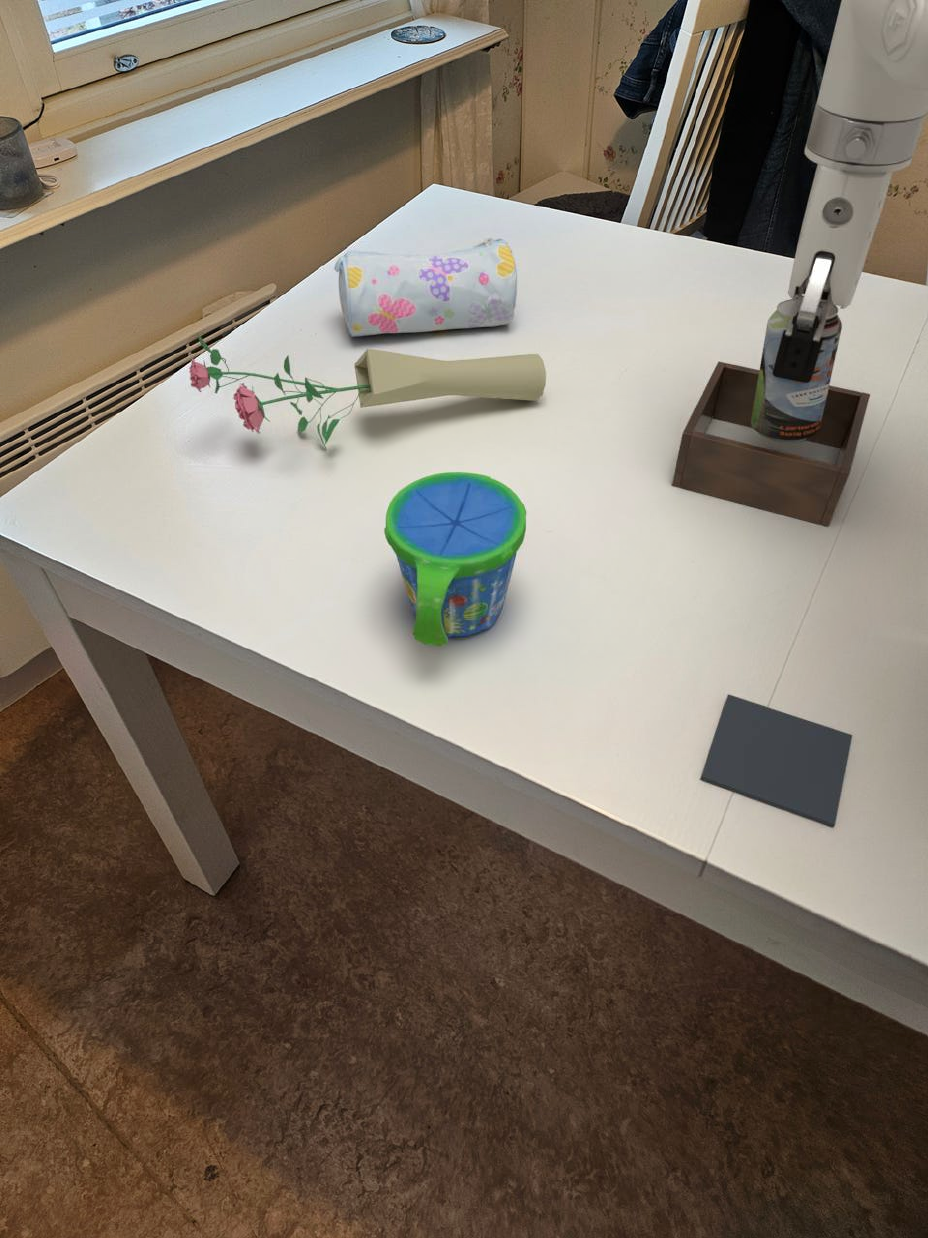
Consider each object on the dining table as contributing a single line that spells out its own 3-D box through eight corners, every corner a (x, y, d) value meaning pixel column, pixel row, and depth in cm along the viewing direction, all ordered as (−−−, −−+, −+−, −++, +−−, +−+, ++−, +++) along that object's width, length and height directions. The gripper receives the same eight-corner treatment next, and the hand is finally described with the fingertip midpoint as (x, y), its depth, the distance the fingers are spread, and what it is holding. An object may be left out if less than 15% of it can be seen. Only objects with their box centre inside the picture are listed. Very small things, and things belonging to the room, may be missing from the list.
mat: (850, 738, 63) (852, 734, 63) (833, 827, 58) (834, 824, 58) (727, 697, 66) (728, 693, 65) (700, 779, 61) (701, 776, 60)
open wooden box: (850, 445, 87) (870, 393, 83) (828, 526, 79) (849, 473, 74) (706, 412, 91) (718, 360, 87) (671, 485, 83) (682, 432, 79)
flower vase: (524, 474, 97) (200, 493, 82) (489, 390, 102) (179, 395, 87) (566, 400, 87) (208, 407, 73) (526, 312, 92) (183, 303, 78)
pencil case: (506, 301, 108) (508, 224, 102) (523, 335, 103) (526, 256, 96) (339, 318, 106) (329, 240, 99) (346, 354, 100) (337, 274, 93)
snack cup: (484, 695, 66) (486, 601, 58) (359, 658, 68) (345, 563, 61) (546, 563, 76) (554, 468, 68) (434, 534, 78) (430, 441, 71)
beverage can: (768, 459, 78) (802, 336, 69) (730, 414, 83) (756, 294, 74) (831, 445, 79) (871, 323, 70) (789, 402, 84) (822, 283, 75)
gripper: (905, 181, 57) (826, 419, 70) (928, 107, 68) (856, 324, 80) (788, 166, 59) (733, 399, 72) (828, 96, 70) (774, 309, 83)
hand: (798, 357), depth 76 cm, fingers closed on beverage can, 6 cm apart
